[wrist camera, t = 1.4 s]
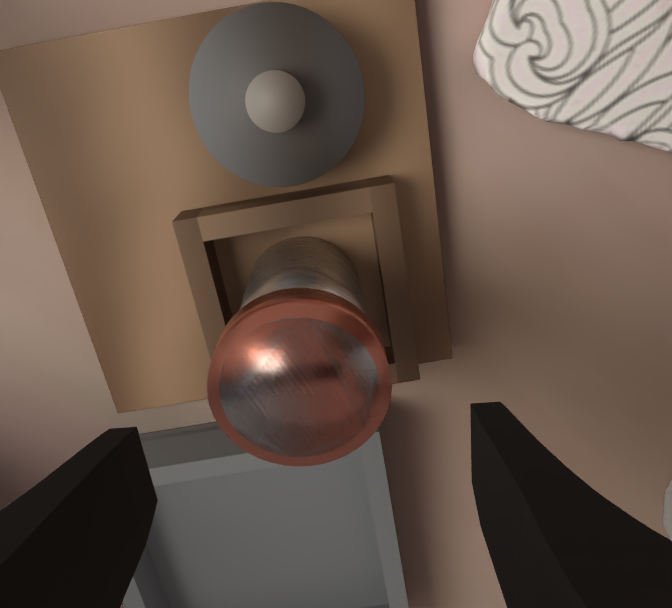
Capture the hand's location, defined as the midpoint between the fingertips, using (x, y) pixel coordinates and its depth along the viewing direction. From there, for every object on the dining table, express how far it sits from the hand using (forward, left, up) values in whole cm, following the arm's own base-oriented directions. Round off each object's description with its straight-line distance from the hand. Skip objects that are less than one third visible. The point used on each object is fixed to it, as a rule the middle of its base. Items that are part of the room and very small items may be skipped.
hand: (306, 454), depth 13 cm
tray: (-4, -11, -10) cm, 16 cm away
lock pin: (0, 0, -9) cm, 9 cm away
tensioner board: (-2, +3, -10) cm, 11 cm away
